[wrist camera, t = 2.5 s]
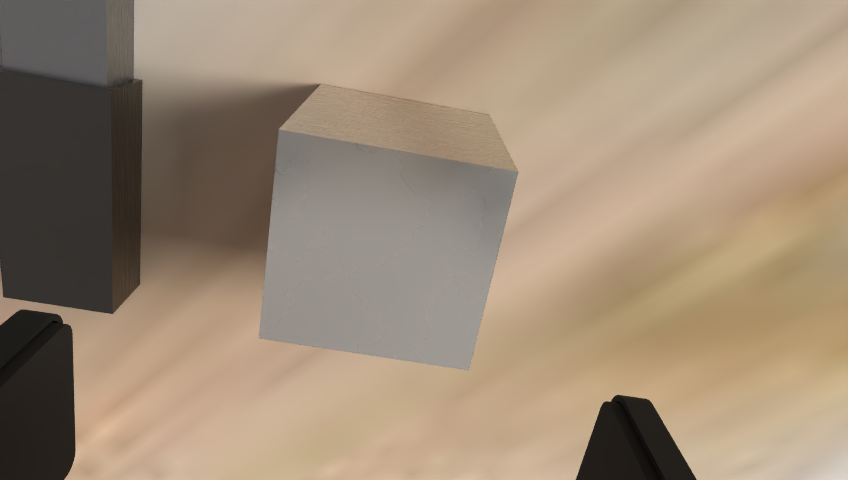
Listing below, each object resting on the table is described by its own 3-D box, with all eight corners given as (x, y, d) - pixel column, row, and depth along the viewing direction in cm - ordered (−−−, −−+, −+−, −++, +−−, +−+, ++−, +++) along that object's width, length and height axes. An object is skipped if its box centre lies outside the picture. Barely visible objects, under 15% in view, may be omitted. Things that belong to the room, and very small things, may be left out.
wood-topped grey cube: (489, 115, 22) (518, 171, 16) (456, 266, 24) (468, 370, 18) (320, 83, 22) (278, 129, 15) (302, 241, 24) (258, 338, 18)
